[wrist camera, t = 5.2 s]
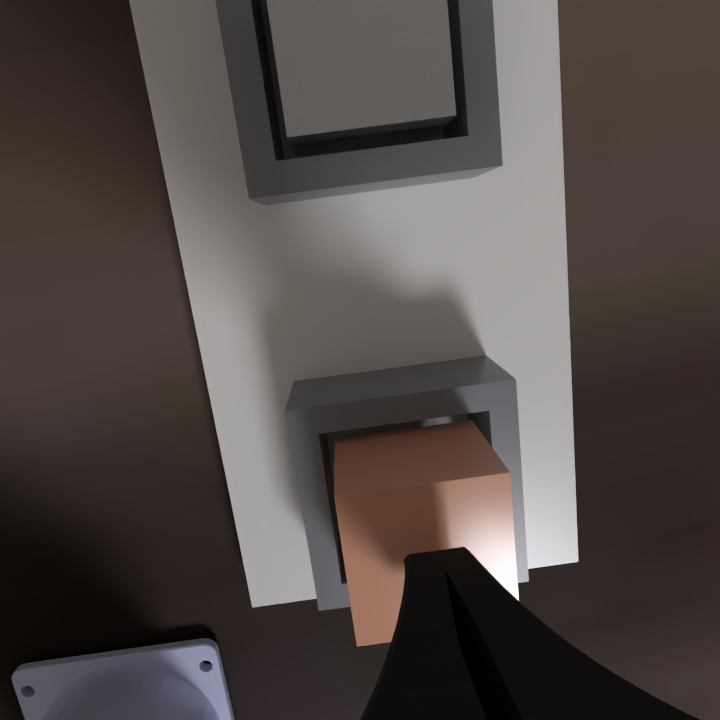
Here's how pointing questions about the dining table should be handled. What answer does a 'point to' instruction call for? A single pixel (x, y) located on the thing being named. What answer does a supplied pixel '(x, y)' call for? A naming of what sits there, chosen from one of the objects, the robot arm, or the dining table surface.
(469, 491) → the button terracotta
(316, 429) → the console
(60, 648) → the dining table surface
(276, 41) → the button grey
